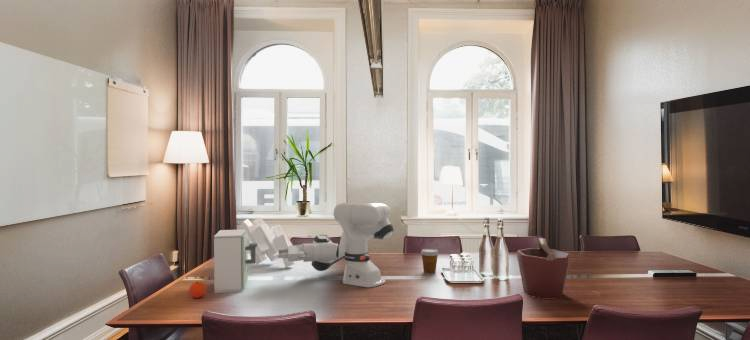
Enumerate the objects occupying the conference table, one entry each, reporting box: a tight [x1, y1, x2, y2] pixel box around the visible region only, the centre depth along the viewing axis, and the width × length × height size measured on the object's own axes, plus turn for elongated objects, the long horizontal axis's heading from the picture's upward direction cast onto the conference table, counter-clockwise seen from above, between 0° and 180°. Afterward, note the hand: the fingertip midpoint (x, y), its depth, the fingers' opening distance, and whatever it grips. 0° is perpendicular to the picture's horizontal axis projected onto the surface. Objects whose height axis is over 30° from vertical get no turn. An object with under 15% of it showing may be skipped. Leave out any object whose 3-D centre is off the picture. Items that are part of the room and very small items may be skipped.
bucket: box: [516, 237, 571, 299], centre depth 198 cm, size 24×22×25 cm
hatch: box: [242, 230, 257, 291], centre depth 210 cm, size 6×19×25 cm, turn 11°
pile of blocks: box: [239, 217, 295, 268], centre depth 253 cm, size 35×30×35 cm
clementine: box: [188, 281, 208, 299], centre depth 192 cm, size 8×7×7 cm
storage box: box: [213, 229, 245, 294], centre depth 208 cm, size 12×18×26 cm, turn 11°
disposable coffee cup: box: [420, 248, 439, 274], centre depth 236 cm, size 10×10×12 cm
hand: (278, 253), depth 213 cm, fingers open, 8 cm apart
